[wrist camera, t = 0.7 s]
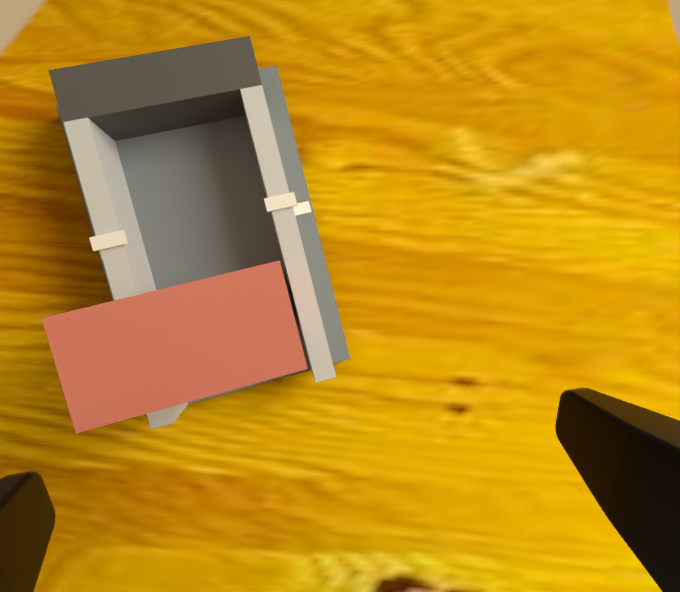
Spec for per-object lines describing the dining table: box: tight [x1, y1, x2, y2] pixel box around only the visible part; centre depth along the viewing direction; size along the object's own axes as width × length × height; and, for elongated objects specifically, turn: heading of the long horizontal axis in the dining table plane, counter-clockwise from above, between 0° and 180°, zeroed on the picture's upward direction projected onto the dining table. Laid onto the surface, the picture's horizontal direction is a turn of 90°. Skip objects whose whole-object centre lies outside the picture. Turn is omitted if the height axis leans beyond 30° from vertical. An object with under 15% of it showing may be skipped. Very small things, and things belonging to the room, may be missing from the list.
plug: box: [42, 260, 308, 433], centre depth 16 cm, size 3×6×11 cm, turn 104°
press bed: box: [49, 36, 350, 429], centre depth 21 cm, size 16×11×4 cm
